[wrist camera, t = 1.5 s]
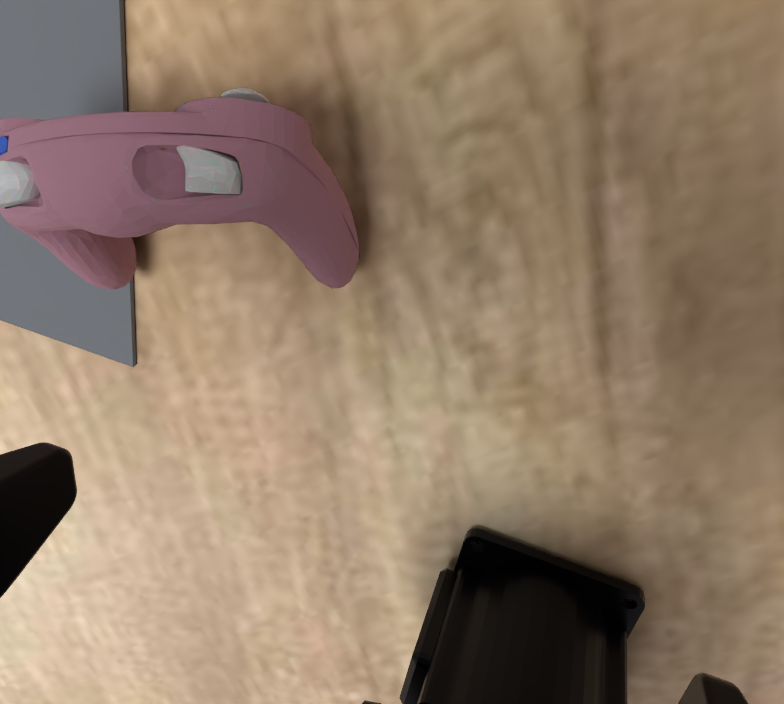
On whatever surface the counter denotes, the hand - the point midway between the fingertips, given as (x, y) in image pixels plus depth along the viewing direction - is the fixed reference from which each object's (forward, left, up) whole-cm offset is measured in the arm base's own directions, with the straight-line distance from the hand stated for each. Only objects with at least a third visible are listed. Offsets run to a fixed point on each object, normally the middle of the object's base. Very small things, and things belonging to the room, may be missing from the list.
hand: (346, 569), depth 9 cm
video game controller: (+9, 0, -12) cm, 15 cm away
